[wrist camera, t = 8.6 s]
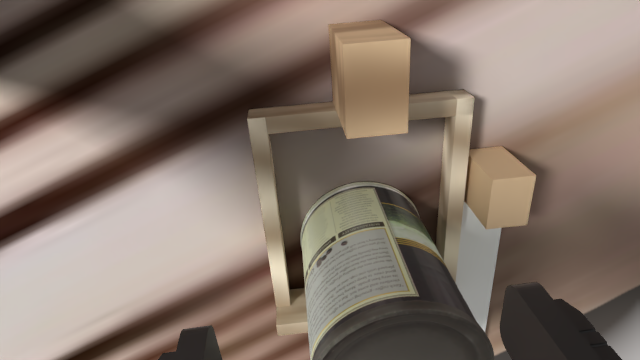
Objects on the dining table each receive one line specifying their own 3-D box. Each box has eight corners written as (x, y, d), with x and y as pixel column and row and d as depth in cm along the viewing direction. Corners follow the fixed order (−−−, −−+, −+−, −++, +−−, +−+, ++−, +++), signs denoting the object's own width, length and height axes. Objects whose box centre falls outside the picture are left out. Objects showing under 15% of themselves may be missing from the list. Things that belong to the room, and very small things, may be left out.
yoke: (237, 32, 28) (225, 54, 22) (470, 12, 28) (523, 28, 22) (277, 301, 39) (278, 367, 32) (445, 282, 39) (477, 343, 33)
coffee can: (434, 184, 34) (522, 315, 22) (405, 284, 39) (464, 438, 27) (306, 174, 33) (324, 307, 21) (292, 278, 38) (299, 438, 25)
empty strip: (460, 150, 33) (488, 180, 29) (505, 145, 33) (540, 175, 29) (441, 348, 43) (460, 393, 39) (476, 344, 44) (498, 388, 39)
